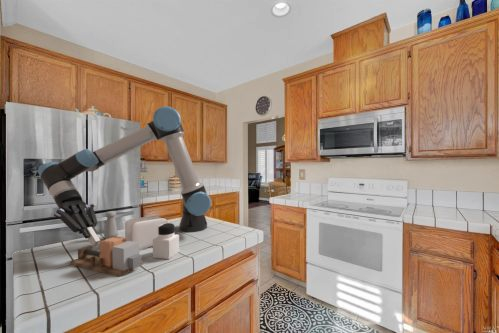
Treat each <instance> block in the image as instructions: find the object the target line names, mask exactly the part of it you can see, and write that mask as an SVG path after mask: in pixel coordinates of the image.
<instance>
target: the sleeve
mask: <svg viewBox="0 0 499 333" xmlns="http://www.w3.org/2000/svg"><path fill="white" fill-rule="evenodd" d="M124 242H126V238H125V236H118V235H117V236H115V237H112V238H109V239H106V238H105V239H103V240H100V241H99V243H98V245H99V250H98V251H99V252H100V258H103V265H105V266H112V265H113V247H114V246H116V245H119V244H122V243H124Z"/></svg>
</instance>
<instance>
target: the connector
mask: <svg viewBox="0 0 499 333" xmlns="http://www.w3.org/2000/svg"><path fill="white" fill-rule="evenodd" d="M141 260H142V254H140V250H139V242H133V241H127V242H124V243H122V244H119V245H116V246H114V247H113V268H114V269H119V270H123V271H124V270H126V269H128V268H135V267H137V266H138V267H140V266H142V265H141ZM139 265H140V266H139ZM138 267H137V268H138ZM135 269H136V268H135Z"/></svg>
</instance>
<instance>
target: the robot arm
mask: <svg viewBox="0 0 499 333" xmlns="http://www.w3.org/2000/svg"><path fill="white" fill-rule="evenodd" d="M181 118H182V117H181V115H180V112H178V110H176V109H175V108H173V107H171V106H166V105H165V106H160V107H159V108H157V109H156V110H155V112H154V113H153V115H152V120H151V121H149V122H148V123H146V124H145V126H144V127H142V128H140V129H138V130H136V131H133V132H132V133H130V134H128V135H126V136H123V137H121V138H119V139H117V140H115V141H113V142H111V143H108V144H107V145H104V146H102V147H101V148H98V149H96V150H94V151H91V150H90V149H89V148H84V149H82V150H80V151H78V152H76V153H74V154H73V155H71V156H69V157H68V158H65V160H63V161H61V162H57V161H49V162H45V163H42V164H41V165H40V166H39V167H38V169H37V172H38V175H39V178H40V180H41V182H43V184H44V185H45V187H46V189H47V191H48V192H49V194H50V195H51V197H52V199H53V200H54V203H55V204H56V206H57V207H58V209H57V210H56V211H55V213H54V214H53V217H55V218H58V219H59V220H61V222H63V224H65V225H66V226H67V228H69V229H70V231H72V232H73V233H78V234H79V235H81V234H82V236H83V238H85V239H87V241H89V243H90V246H92V247H94V246H95V247H96V246H97V245H99V242H100V241H101V239H100V237H99V236H98V231H97V229H96V228H95V227H96V226H97V225H98V223H99V222H98V220H97V216H96V215H97V214H96V213H95V209H94V207H95V204H93V203H91V204H87V203H86V202H85V201H84V200H83V197H82V195H81V193H80V192H79V191H78V189H77V187H76V186H75V184H74V183H73V182H72V179H74V178H76V177H78V176H80V174H82V173H84V172H85V173H86V172H94V171H97V170H99V169H100V168H101V167H103V166H105V165H107V164H108V163H111V162H113V161H115V160H116V159H119V158H120V157H123V156H125V155H126V154H128V153H131V152H132V151H135V150H137V149H139V148H141V147H142V146H145V145H146V144H149V143H150V142H153V141H159V140H160V141H162V142H164V144H165V146H166V149H167V152H168V155H169V156H170V159H171V161H172V165H173V167H174V170H175V172H176V175H177V178H178V180H179V183H180V185H181V188H182V190H181V191H180V194H181V197H182V216H181V219H180V222H179V225H178V226H179V228H178V229H179V231H182V232H184V233H186V232H191V233H192V232H193V233H194V232H199V231H200V232H201V231H202V230H206V229H207V228H208V222H207V219H206V216H205V214H207V213H208V212H209V211H210V209H211V206H212V199H211V197H210V195H208V192H207V190H206V188H205V185H204V183H201V182H200V180H199V177H198V175H197V174H198V173H197V171H196V169H195V167H194V164H193V162H192V158H191V156H190V153H189V150H188V148H187V145H186V142H185V139H184V137H183V136H184V134H185V130H184V127H183V125H182V119H181Z"/></svg>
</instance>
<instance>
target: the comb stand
mask: <svg viewBox="0 0 499 333" xmlns="http://www.w3.org/2000/svg"><path fill="white" fill-rule="evenodd" d="M86 249H90V250H93V246H92V245H91V244H90V245H87V246H84V247H81V248H78V249H77V258H76V259H74V260H70V261H69V262H70V264H69V265H70V266H74V267H78V268H82V269H87V270H91V271H95V272H99V273H103V274H107V275H111V276H116V277H122V276H125V274H127V273H130V272H131V271H133V270H134V269H136V268H139V267H140V266H143V265H144V260H142V259H141V265H139V266H137V267H135V268H128V269H126V270H124V271H123V270H119V269H114V268H113V265H112V266H105V265H103V258H100V257H97V256H92V255H87V254H84V251H85V250H86Z"/></svg>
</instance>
